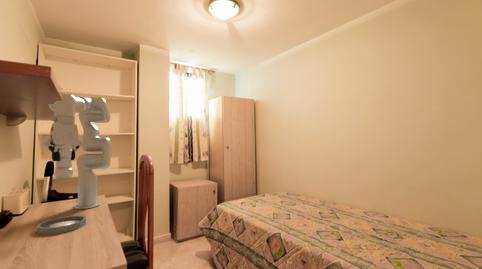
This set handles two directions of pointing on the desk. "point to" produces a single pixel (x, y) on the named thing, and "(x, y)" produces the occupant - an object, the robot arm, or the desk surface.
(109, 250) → the desk surface
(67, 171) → the plastic bottle
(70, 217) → the round tray
